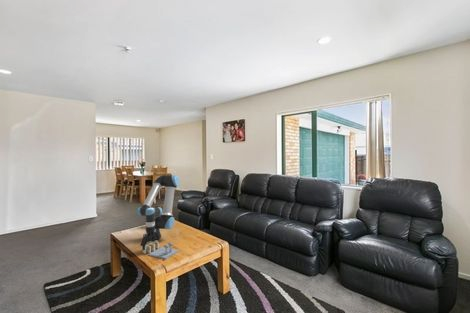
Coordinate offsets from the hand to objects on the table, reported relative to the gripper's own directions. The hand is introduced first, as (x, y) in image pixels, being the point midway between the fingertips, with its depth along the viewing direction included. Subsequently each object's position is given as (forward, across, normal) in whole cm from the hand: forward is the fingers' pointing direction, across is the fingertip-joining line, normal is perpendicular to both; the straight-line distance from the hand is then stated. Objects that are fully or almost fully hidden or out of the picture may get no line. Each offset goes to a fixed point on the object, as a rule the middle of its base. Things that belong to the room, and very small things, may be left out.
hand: (150, 250), depth 200 cm
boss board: (0, 0, -15) cm, 15 cm away
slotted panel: (0, 0, 0) cm, 0 cm away
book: (0, +58, +39) cm, 70 cm away
